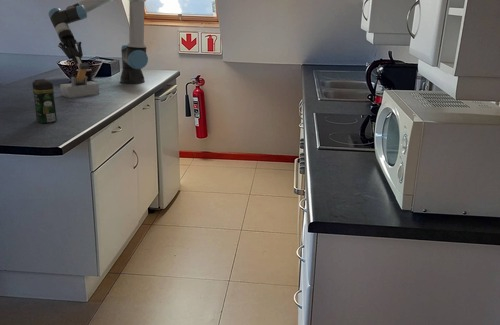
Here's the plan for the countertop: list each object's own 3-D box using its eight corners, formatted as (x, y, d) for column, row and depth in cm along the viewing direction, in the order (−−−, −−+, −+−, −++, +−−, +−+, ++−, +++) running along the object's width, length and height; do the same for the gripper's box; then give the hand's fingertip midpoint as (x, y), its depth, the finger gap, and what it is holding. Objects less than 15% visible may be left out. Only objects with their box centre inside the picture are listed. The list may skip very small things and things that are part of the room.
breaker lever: (74, 81, 271) (79, 63, 262) (81, 80, 274) (87, 62, 265) (75, 84, 271) (81, 66, 261) (83, 83, 274) (89, 65, 264)
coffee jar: (34, 119, 222) (29, 78, 215) (52, 117, 226) (48, 77, 220) (40, 124, 214) (35, 82, 208) (59, 122, 219) (54, 81, 213)
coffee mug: (95, 85, 300) (93, 69, 297) (89, 88, 292) (88, 71, 289) (76, 84, 301) (75, 68, 298) (70, 87, 293) (69, 70, 290)
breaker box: (61, 95, 271) (59, 77, 268) (91, 91, 283) (89, 74, 280) (68, 98, 265) (66, 79, 262) (99, 94, 277) (97, 76, 274)
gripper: (74, 37, 279) (90, 71, 273) (51, 38, 270) (67, 73, 264) (77, 28, 273) (94, 62, 268) (54, 29, 264) (71, 64, 259)
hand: (81, 68), depth 266 cm, fingers closed
